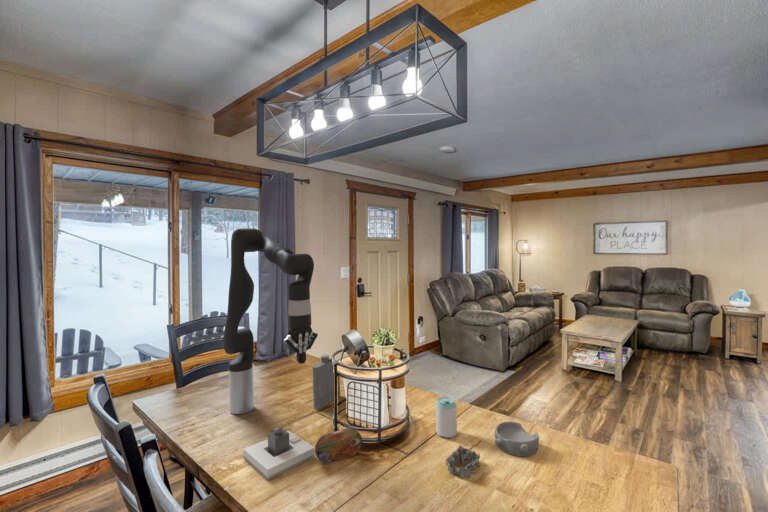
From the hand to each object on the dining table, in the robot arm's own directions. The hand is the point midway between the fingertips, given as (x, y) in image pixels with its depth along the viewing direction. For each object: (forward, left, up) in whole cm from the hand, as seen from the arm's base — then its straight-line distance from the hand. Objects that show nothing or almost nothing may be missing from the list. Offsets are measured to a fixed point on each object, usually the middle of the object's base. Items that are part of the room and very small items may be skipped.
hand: (301, 363), depth 128 cm
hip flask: (-20, +24, -27) cm, 41 cm away
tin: (+17, +2, -27) cm, 32 cm away
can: (+33, +37, -27) cm, 57 cm away
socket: (+3, -11, -27) cm, 29 cm away
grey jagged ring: (+48, +24, -28) cm, 61 cm away
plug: (+3, -11, -26) cm, 29 cm away
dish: (+54, +46, -27) cm, 76 cm away
